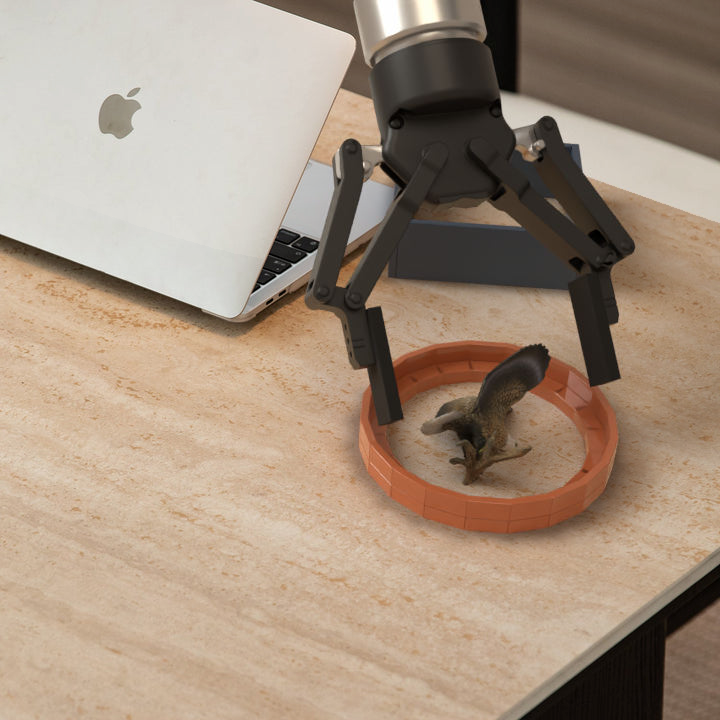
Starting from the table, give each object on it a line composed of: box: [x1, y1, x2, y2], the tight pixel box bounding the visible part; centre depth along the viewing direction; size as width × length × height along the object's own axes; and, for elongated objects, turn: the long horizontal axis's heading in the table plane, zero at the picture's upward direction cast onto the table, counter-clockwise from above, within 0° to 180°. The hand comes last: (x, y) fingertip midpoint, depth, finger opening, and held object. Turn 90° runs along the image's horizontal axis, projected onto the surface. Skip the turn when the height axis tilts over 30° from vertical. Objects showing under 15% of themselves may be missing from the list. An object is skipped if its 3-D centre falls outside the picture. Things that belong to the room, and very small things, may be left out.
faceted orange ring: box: [358, 339, 620, 534], centre depth 76 cm, size 15×15×3 cm
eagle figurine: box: [419, 342, 552, 487], centre depth 75 cm, size 8×7×9 cm
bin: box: [387, 142, 584, 291], centre depth 95 cm, size 14×14×6 cm
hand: (501, 403), depth 72 cm, fingers open, 13 cm apart
